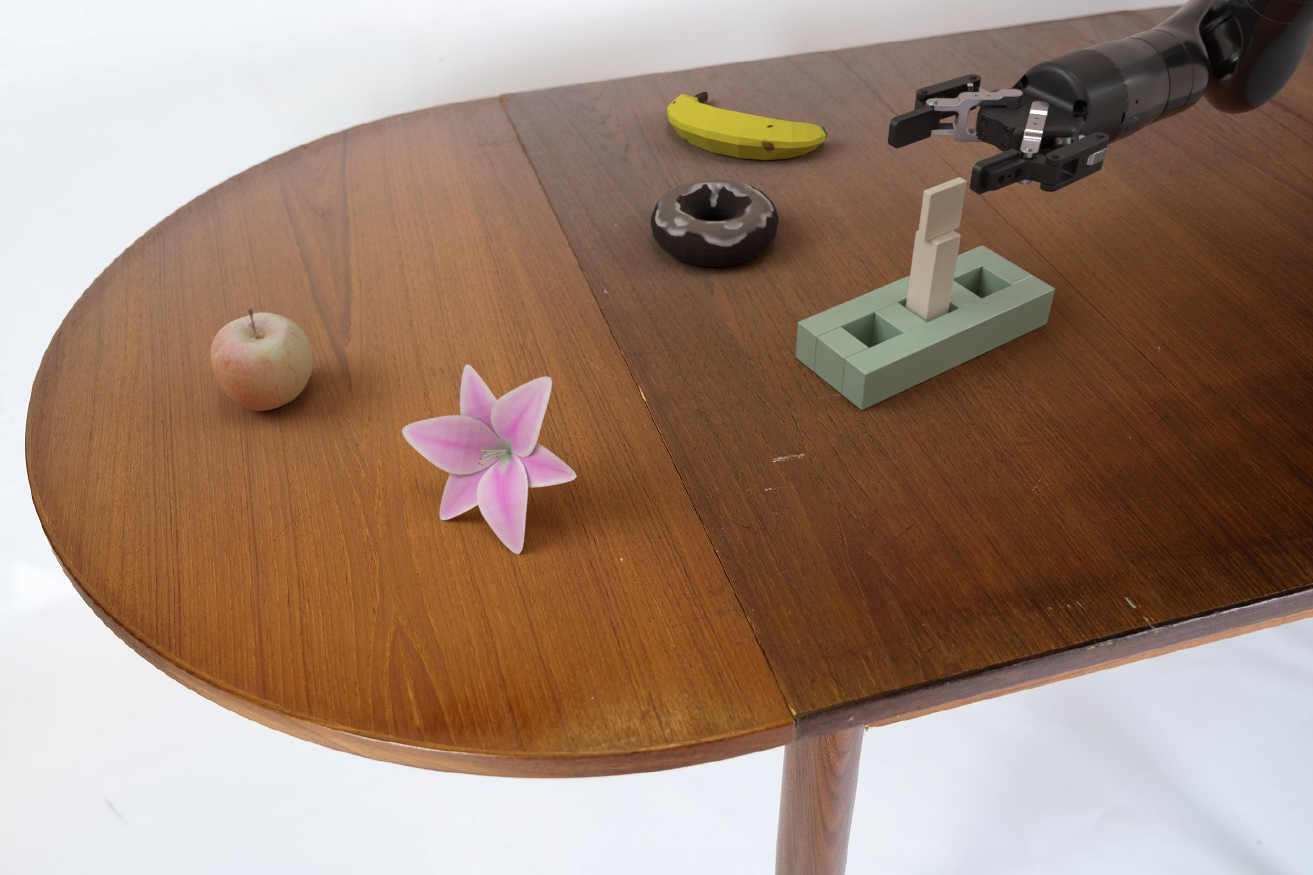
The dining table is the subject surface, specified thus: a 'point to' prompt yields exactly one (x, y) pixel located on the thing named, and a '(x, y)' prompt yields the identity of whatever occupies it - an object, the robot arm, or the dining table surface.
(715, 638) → the dining table surface
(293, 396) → the fruit
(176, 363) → the dining table surface
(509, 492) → the lily
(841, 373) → the caddy
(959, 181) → the cream offset-tab post
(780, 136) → the banana
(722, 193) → the donut
